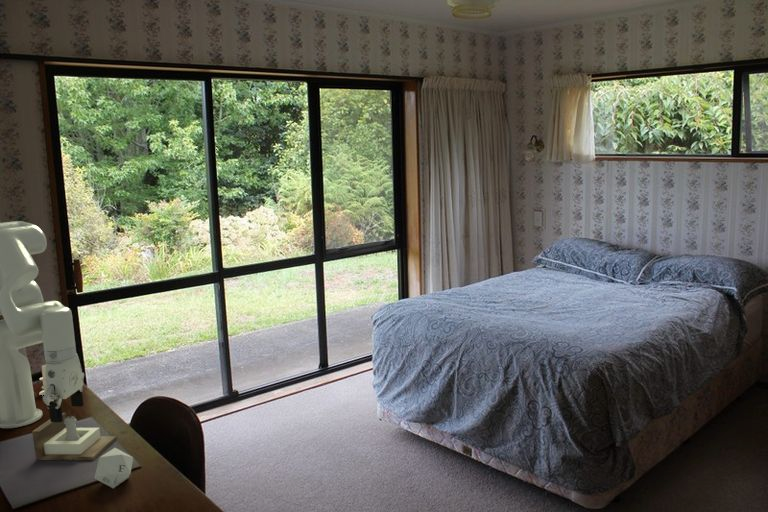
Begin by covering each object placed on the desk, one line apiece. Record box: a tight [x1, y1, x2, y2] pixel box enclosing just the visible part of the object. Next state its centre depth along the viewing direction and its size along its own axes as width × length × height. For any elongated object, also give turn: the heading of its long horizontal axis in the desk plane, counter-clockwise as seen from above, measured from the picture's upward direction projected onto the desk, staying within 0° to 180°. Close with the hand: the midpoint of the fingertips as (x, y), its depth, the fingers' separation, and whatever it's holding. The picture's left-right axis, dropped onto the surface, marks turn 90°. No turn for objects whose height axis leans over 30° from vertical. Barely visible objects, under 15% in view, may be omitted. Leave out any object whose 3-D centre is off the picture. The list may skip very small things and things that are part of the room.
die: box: [93, 447, 134, 489], centre depth 159 cm, size 8×9×10 cm
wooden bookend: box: [31, 412, 118, 461], centre depth 178 cm, size 16×12×8 cm
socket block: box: [44, 427, 101, 454], centre depth 178 cm, size 10×10×3 cm
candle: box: [38, 364, 47, 397], centre depth 221 cm, size 5×5×10 cm
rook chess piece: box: [64, 415, 81, 441], centre depth 178 cm, size 4×4×8 cm
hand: (67, 413), depth 177 cm, fingers open, 9 cm apart
